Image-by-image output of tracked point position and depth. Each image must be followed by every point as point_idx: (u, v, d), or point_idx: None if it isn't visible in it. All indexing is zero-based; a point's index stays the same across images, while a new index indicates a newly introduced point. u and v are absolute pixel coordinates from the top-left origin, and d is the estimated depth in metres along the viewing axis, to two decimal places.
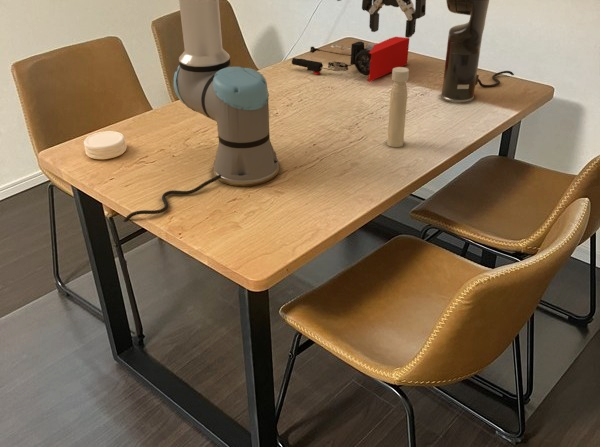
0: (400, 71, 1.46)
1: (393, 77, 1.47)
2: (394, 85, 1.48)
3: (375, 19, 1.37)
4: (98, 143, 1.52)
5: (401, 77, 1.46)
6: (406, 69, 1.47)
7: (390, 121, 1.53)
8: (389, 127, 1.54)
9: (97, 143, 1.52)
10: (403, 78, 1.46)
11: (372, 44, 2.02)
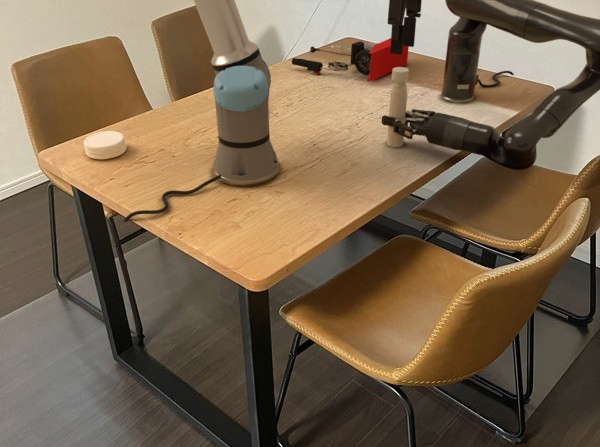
0: (400, 71, 1.46)
1: (393, 77, 1.47)
2: (394, 85, 1.48)
3: None
4: (98, 143, 1.52)
5: (401, 77, 1.46)
6: (406, 69, 1.47)
7: None
8: (389, 127, 1.54)
9: (97, 143, 1.52)
10: (403, 78, 1.46)
11: (372, 44, 2.02)
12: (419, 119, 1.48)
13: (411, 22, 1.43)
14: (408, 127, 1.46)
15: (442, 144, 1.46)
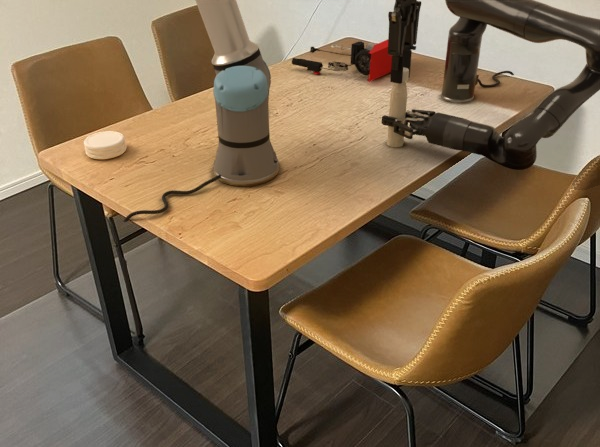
0: None
1: None
2: (394, 85, 1.48)
3: None
4: (98, 143, 1.52)
5: None
6: (406, 69, 1.47)
7: None
8: (389, 127, 1.54)
9: (97, 143, 1.52)
10: (403, 78, 1.46)
11: (372, 44, 2.02)
12: (419, 119, 1.48)
13: (407, 54, 1.46)
14: (408, 127, 1.46)
15: (442, 144, 1.46)
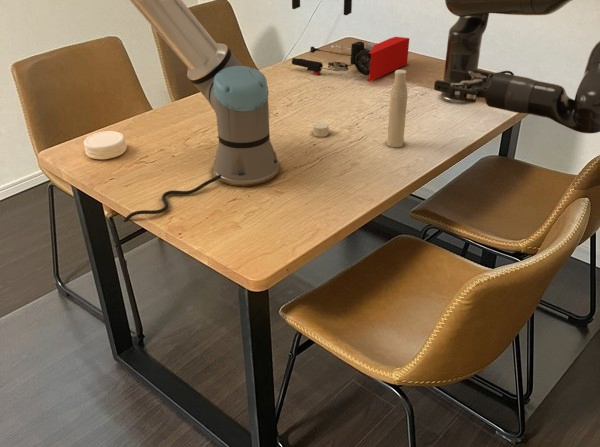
0: (327, 124, 1.62)
1: (326, 133, 1.62)
2: (394, 85, 1.48)
3: (461, 74, 1.43)
4: (98, 143, 1.52)
5: None
6: (318, 123, 1.63)
7: (390, 121, 1.53)
8: (389, 127, 1.54)
9: (97, 143, 1.52)
10: None
11: (372, 44, 2.02)
12: (477, 80, 1.35)
13: None
14: (470, 89, 1.33)
15: (503, 106, 1.33)
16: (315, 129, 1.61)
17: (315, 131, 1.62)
